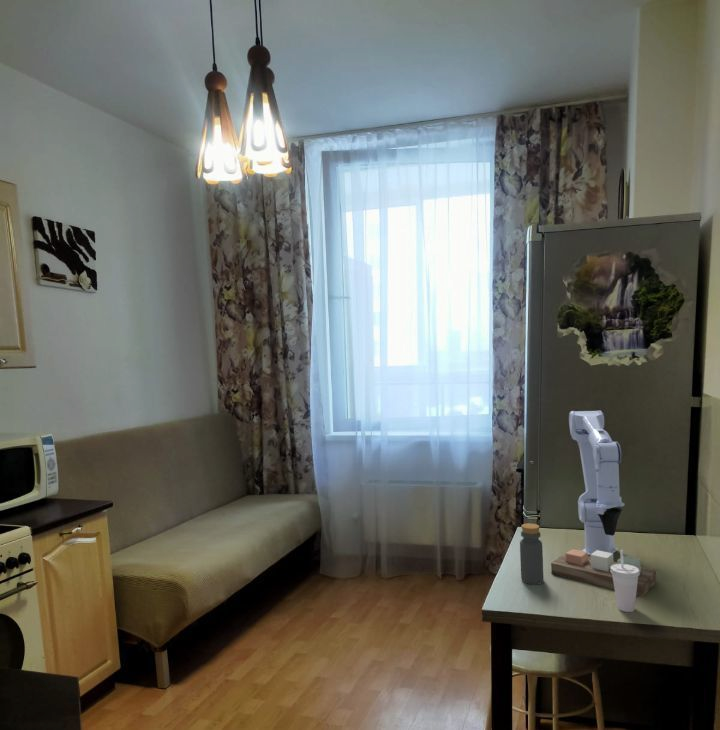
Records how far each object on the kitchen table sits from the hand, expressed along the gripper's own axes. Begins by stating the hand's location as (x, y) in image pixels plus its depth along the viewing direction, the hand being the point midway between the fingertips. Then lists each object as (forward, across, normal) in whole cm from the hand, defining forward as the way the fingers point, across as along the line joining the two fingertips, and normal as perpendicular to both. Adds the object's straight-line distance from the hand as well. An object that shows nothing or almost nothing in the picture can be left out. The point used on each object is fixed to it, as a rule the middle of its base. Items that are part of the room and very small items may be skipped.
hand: (609, 534), depth 159 cm
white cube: (+8, -6, 0) cm, 10 cm away
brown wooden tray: (+10, -6, 0) cm, 12 cm away
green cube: (+8, -6, -7) cm, 12 cm away
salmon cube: (+9, -6, +7) cm, 13 cm away
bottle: (+11, -18, +14) cm, 26 cm away
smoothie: (+11, -20, -11) cm, 26 cm away
